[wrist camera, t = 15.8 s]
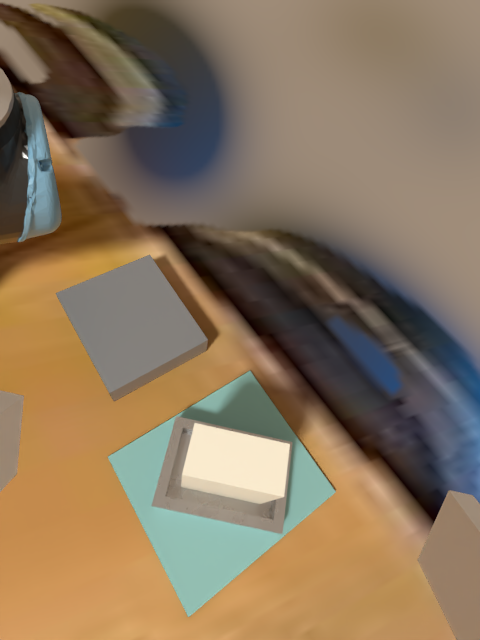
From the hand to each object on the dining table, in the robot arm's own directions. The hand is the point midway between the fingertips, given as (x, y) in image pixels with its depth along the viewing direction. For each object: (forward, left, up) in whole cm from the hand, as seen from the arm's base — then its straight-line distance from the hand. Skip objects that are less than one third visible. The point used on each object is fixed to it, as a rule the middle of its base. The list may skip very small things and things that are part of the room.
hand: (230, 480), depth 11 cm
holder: (+4, +1, -30) cm, 30 cm away
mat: (+4, +1, -30) cm, 30 cm away
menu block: (+4, +1, -29) cm, 29 cm away
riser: (+4, +21, -30) cm, 37 cm away
